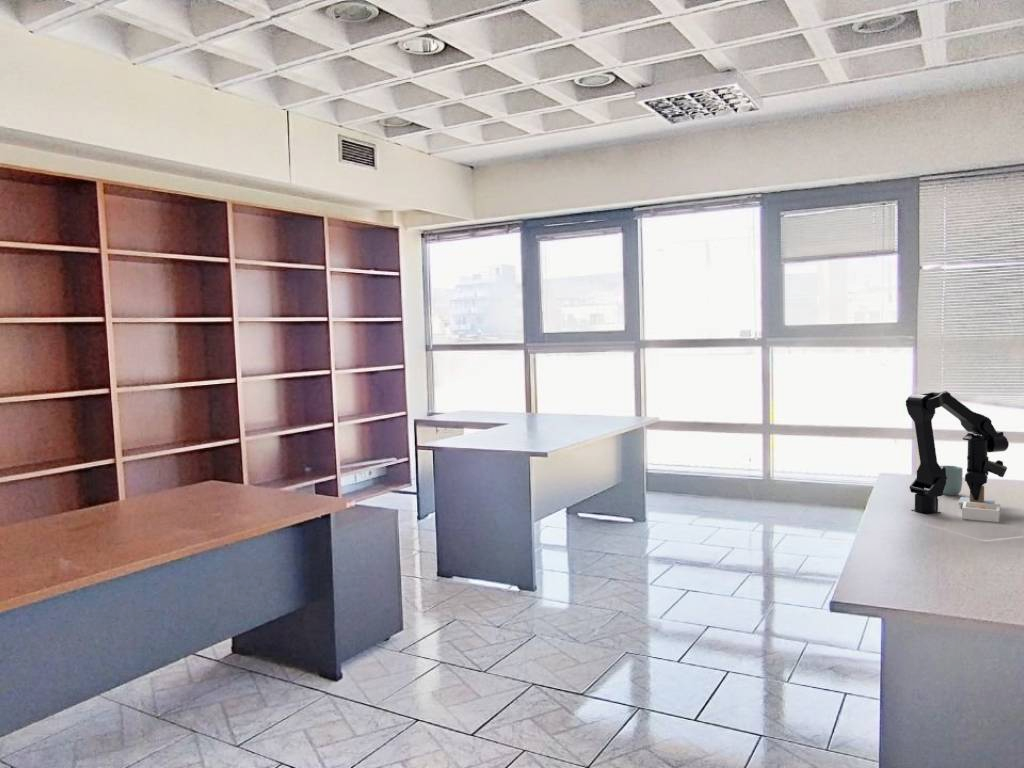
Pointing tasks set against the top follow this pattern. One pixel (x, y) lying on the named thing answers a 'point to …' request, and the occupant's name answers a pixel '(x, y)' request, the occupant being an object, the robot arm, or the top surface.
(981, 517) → the box
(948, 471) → the cup
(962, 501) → the lid
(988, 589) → the top surface
